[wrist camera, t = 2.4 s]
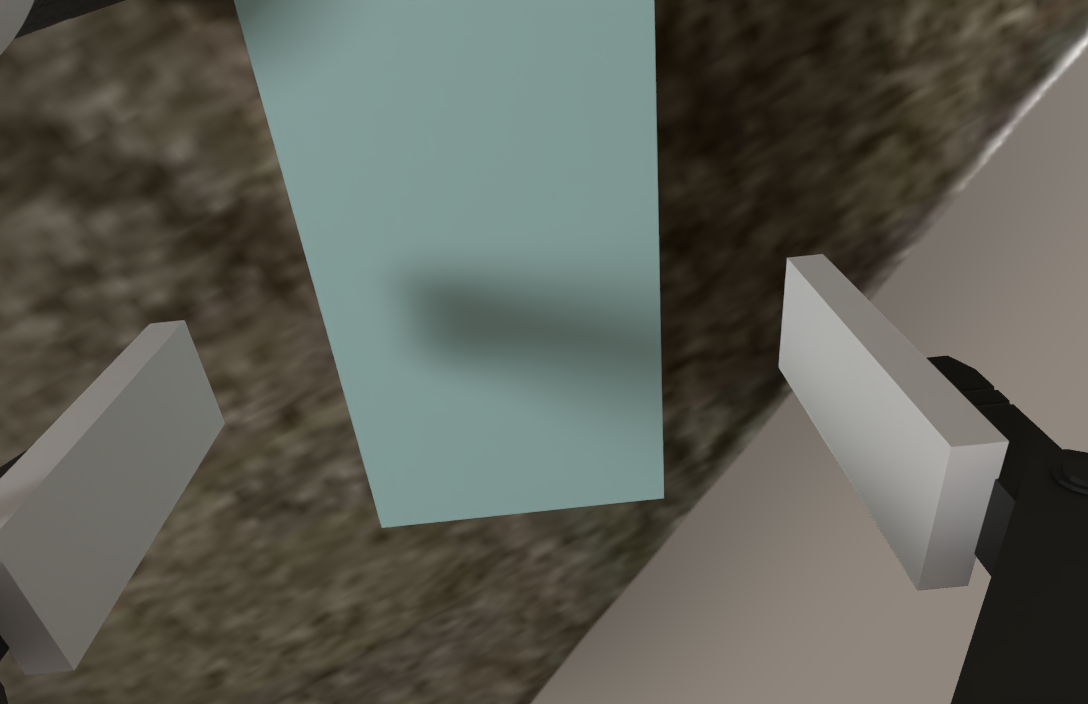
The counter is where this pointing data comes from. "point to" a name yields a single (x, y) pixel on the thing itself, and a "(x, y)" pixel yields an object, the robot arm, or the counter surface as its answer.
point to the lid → (478, 240)
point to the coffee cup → (40, 15)
